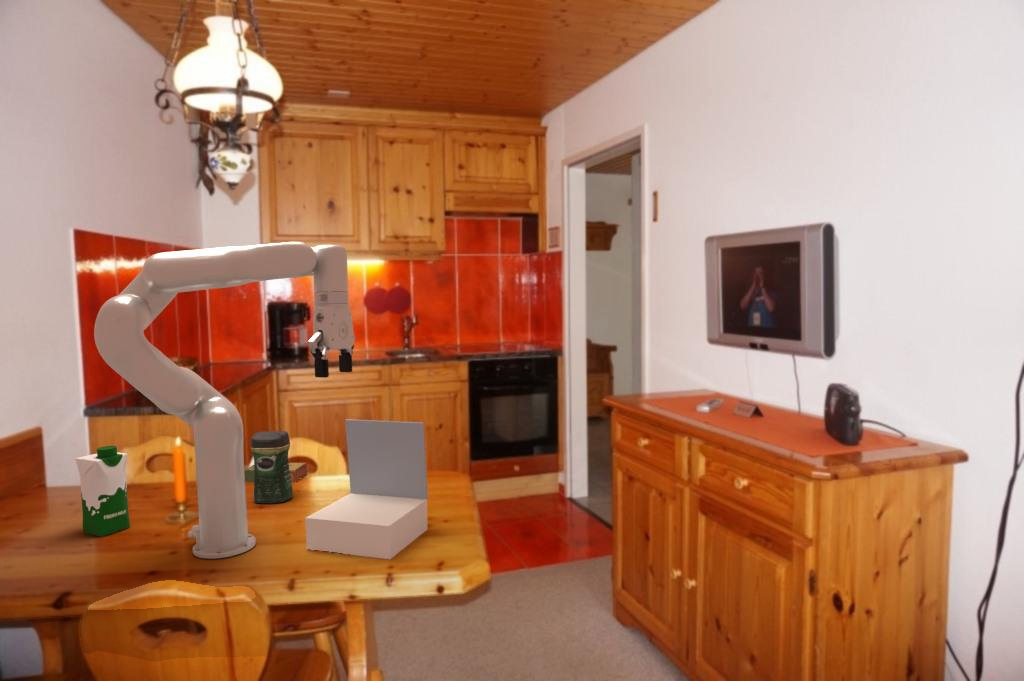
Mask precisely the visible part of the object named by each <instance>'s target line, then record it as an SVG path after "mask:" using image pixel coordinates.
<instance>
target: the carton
mask: <svg viewBox="0 0 1024 681" xmlns="http://www.w3.org/2000/svg"><path fill="white" fill-rule="evenodd" d="M289 470H290V477H291V482H292V483H297V482H298V481H297V480H298V479H299V478H302V479H303V478H304V477H306V476H308V464H307V462H289ZM244 474H245V483H248V482H249V483H254V464H252V465H251V466H249V467H247V468H246V469H245V468H244ZM296 481H297V482H296Z"/></svg>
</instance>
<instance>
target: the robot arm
mask: <svg viewBox="0 0 1024 681" xmlns="http://www.w3.org/2000/svg"><path fill="white" fill-rule="evenodd" d="M348 275H349V274H348V251H347V248H346V247H345V246H343V245H341V244H320V245H316V246H310V245H309V244H307V243H305V242H303V241H288V242H277V243H266V244H264V243H263V244H256V245H255V244H254V245H242V246H241V245H239V246H238V245H237V246H236V245H235V246H219V247H210V248H200V249H199V248H198V249H188V250H177V251H176V250H175V251H164V252H163V251H162V252H157V253H155V254H152V255H150V256H149V257H148V258H147V259H146V260H145V261H144V264H143V265H142V269H141V271H140V272H139V273H138V274H137V275H136V276H135V277H134V279H132V280H131V282H130V283H129V284H128V285H127V286H126V287H125V288H124V289H123V290H122V291H121V292H120V293H119V294H118V295H116V296H113V297H111V298H109V299H108V300H106V301H105V302H104V303H103V304H102V306H101V307H100V309H99V311H98V313H97V316H96V318H95V323H94V330H93V336H94V341H95V342H94V343H95V346H96V348H97V351H98V354H100V357H102V359H103V361H104V362H105V363H106V364H107V366H109V367H110V368H111V369H112V370H113V371H115V372H116V373H117V374H118V375H119V376H120V377H121V378H123V379H124V380H125V381H126V382H127V383H128V384H130V385H131V386H132V387H134V388H135V389H136V390H137V391H138V392H140V393H141V394H142V396H144V397H145V398H147V399H148V400H150V401H151V402H152V403H153V404H154V405H155V406H156V407H157V408H158V409H159V410H160V411H162V412H164V413H166V414H168V415H173V416H176V417H178V418H179V419H180V420H182V421H183V422H184V423H185V424H187V425H188V426H189V427H190V428H191V429H192V430H193V446H194V460H195V475H196V476H195V477H196V488H197V506H198V507H197V509H198V522H199V523H198V524H194V525H192V526H191V529H190V530H189V531H188V532H187V537H188V538H196V539H195V540H196V543H195V544H194V545H192V554H193V555H194V556H195V557H197V558H200V559H207V560H215V559H224V558H230V557H234V556H238V555H240V554H243V553H246V552H248V551H249V550H251V549H252V548H254V546H255V545H256V544H257V543H256V536H254V535H253V534H251V533H249V531H248V516H247V515H248V514H247V513H248V512H247V495H246V494H247V492H246V482H245V474H244V470H245V459H244V458H245V454H244V451H245V450H244V424H243V423H244V422H243V419H242V417H241V414H240V412H239V410H238V409H237V407H236V405H235V404H234V403H232V402H231V400H229V399H228V398H227V397H226V396H225V395H223V394H222V393H221V392H219V391H218V390H217V389H215V388H214V387H213V386H212V385H211V384H210V383H208V381H206V380H205V379H204V378H202V377H201V376H200V375H199V374H197V373H196V372H195V371H193V370H192V369H190V368H187V367H183V366H179V365H177V364H176V363H175V362H174V361H172V360H171V359H170V358H169V357H167V356H166V355H165V353H163V352H162V351H161V350H159V349H158V347H156V346H154V345H153V344H152V343H151V342H150V341H149V340H148V339H147V337H146V336H145V333H144V331H145V330H146V329H147V328H148V327H149V326H150V325H151V324H152V322H154V320H156V318H157V317H158V316H159V315H160V314H161V313H162V312H163V310H164V309H165V308H166V307H167V306H168V305H169V304H170V303H171V302H172V301H173V299H175V297H176V296H177V295H178V293H186V292H195V291H203V290H214V289H215V290H216V289H223V288H233V287H239V286H243V285H246V284H251V283H254V282H256V283H257V282H263V281H265V282H266V281H271V280H272V281H273V280H280V279H282V280H284V279H298V278H304V277H305V278H306V277H313V296H314V298H313V300H314V302H313V303H314V312H313V321H312V322H313V324H312V325H313V326H312V337H311V338H310V339H309V340H307V343H308V347H309V349H310V351H309V352H310V354H311V355H312V359H313V360H314V362H313V363H314V377H315V378H325V379H326V378H329V377H330V376H329V375H330V374H329V373H330V372H329V371H330V370H329V359H327V357H328V355H329V352H330V350H331V351H338V352H339V355H338V368H339V369H338V370H339V371H338V372H340V373H352V372H353V354H354V351H353V350H354V348H355V340H356V335H355V333H354V324H353V317H352V316H353V315H352V312H351V311H352V310H351V306H350V305H349V304H350V303H349V302H350V300H349V276H348Z"/></svg>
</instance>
